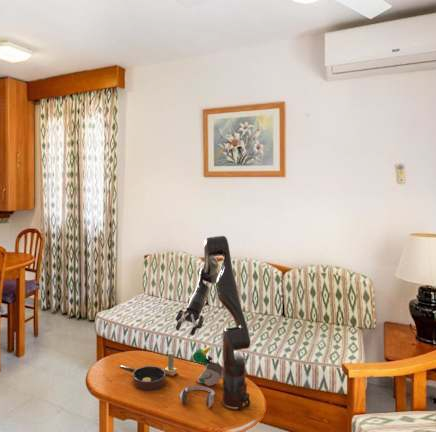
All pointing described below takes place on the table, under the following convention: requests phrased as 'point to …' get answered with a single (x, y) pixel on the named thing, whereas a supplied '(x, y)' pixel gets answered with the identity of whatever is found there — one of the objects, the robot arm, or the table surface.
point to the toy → (208, 368)
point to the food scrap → (146, 379)
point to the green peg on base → (170, 366)
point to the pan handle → (127, 368)
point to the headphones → (209, 397)
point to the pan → (151, 372)
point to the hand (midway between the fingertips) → (184, 332)
